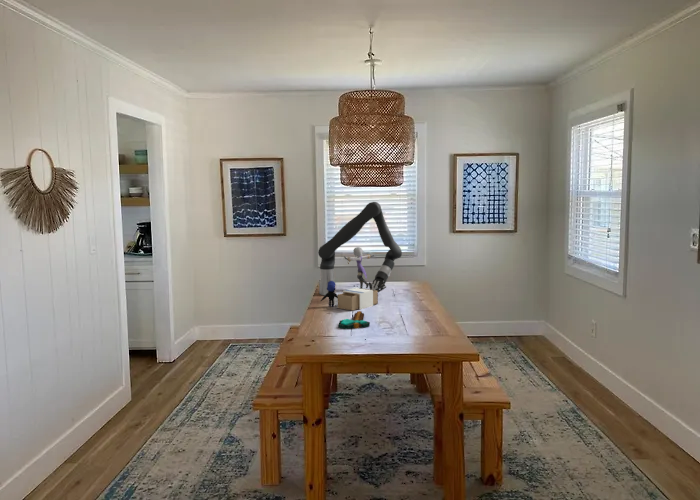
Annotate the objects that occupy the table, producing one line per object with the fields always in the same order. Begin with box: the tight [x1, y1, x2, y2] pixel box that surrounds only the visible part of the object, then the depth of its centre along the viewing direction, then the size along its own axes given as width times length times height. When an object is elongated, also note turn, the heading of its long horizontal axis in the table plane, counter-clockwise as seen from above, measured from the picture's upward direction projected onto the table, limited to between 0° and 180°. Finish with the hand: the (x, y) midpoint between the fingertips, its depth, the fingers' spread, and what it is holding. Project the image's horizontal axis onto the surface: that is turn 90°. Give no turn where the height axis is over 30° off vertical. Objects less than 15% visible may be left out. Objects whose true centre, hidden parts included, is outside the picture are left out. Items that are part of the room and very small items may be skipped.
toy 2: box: [337, 310, 371, 330], centre depth 291 cm, size 16×3×30 cm
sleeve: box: [342, 287, 374, 311], centre depth 328 cm, size 12×14×10 cm
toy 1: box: [320, 280, 338, 307], centre depth 330 cm, size 13×6×15 cm, turn 84°
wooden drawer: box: [337, 288, 379, 311], centre depth 329 cm, size 24×11×8 cm, turn 139°
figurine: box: [343, 246, 375, 289], centre depth 381 cm, size 17×21×30 cm
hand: (371, 296), depth 338 cm, fingers closed
